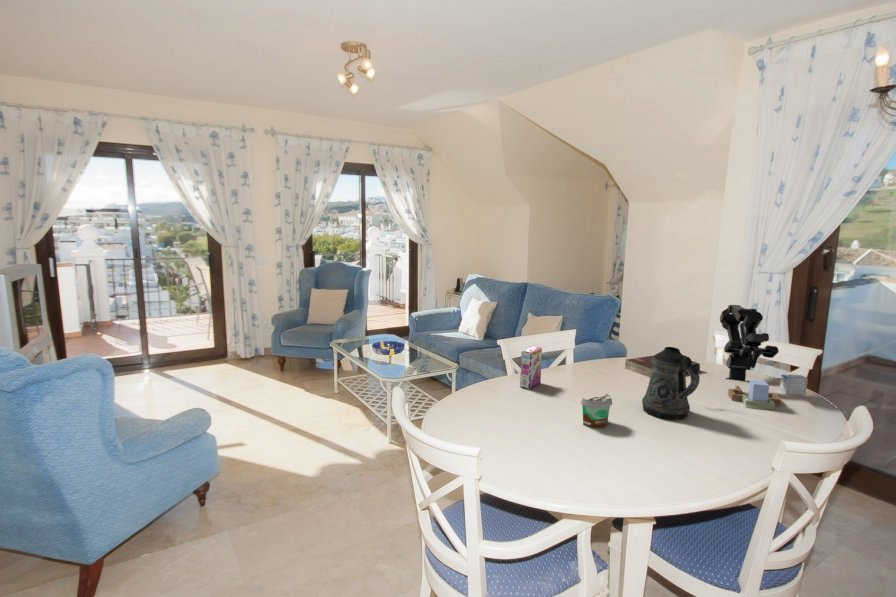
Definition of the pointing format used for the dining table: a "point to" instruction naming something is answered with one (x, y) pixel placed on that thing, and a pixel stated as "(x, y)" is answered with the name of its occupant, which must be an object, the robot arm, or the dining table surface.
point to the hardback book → (647, 365)
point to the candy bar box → (531, 367)
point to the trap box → (743, 397)
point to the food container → (596, 411)
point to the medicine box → (793, 384)
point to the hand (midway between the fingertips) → (753, 367)
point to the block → (758, 391)
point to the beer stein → (670, 385)
